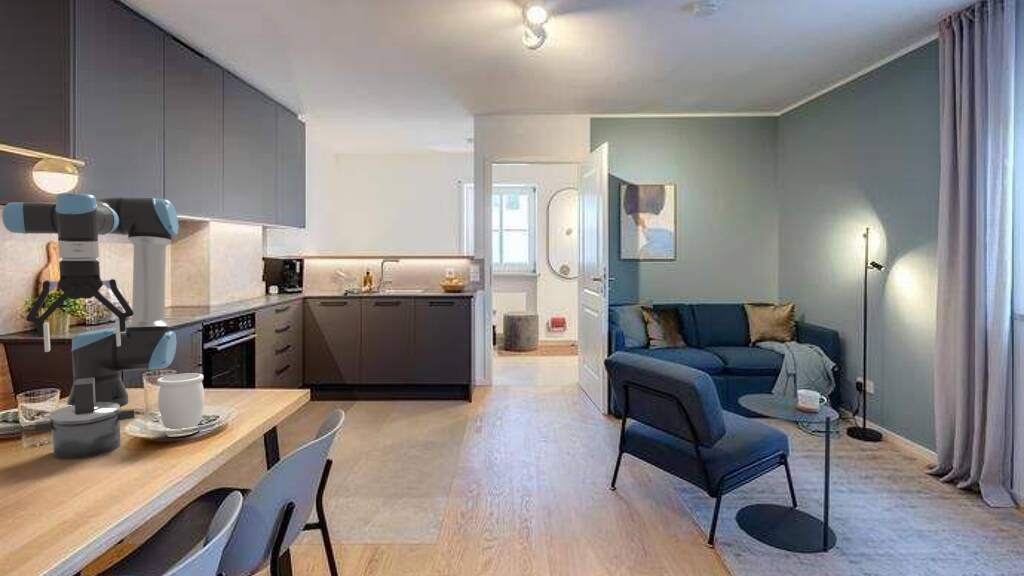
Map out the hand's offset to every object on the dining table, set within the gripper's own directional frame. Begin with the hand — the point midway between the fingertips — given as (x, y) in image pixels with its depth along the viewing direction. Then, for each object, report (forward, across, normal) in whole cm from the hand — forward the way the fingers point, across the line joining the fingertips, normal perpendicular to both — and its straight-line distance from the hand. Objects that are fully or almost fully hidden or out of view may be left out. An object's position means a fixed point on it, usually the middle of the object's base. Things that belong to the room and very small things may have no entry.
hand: (84, 348), depth 135 cm
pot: (+25, 0, -1) cm, 25 cm away
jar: (+25, +20, +1) cm, 32 cm away
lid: (+16, 0, -2) cm, 16 cm away
